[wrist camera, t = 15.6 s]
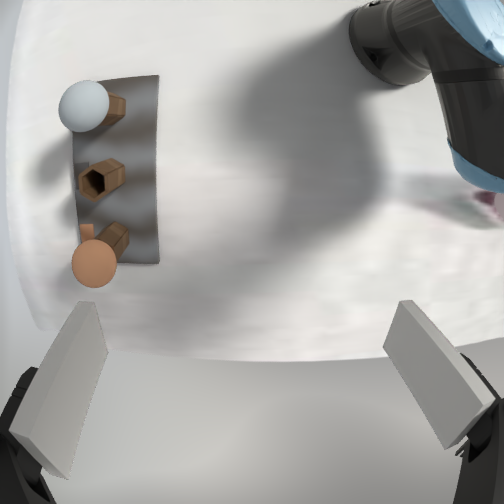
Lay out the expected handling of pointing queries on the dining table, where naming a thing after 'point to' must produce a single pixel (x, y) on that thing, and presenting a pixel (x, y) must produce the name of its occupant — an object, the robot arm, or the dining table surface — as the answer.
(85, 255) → the ball terracotta
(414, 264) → the dining table surface
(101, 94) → the ball grey
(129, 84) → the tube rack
